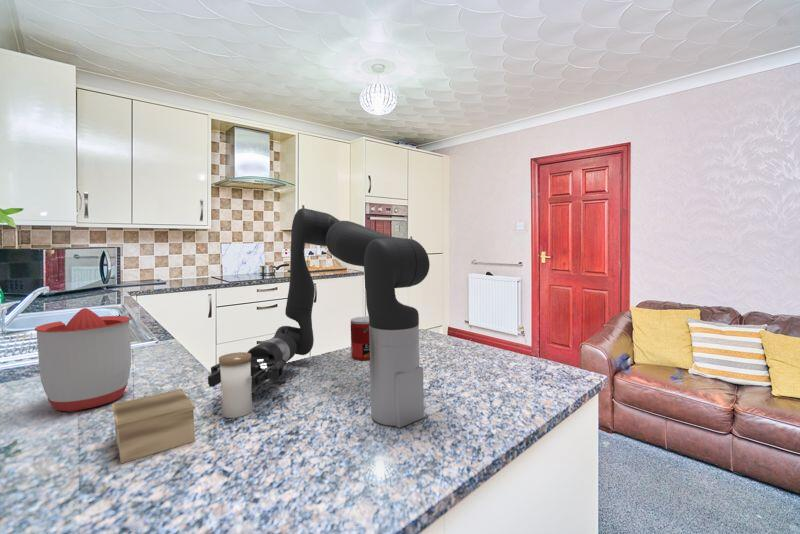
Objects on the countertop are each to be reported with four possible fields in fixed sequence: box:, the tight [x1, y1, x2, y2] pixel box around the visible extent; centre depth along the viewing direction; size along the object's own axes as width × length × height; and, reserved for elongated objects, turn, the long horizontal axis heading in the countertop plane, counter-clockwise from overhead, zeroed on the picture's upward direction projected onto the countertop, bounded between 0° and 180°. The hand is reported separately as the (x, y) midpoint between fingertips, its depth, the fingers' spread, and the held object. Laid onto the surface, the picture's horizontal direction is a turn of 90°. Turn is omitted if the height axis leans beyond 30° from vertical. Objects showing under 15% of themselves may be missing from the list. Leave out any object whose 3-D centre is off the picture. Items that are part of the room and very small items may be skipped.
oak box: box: [111, 388, 196, 464], centre depth 64 cm, size 10×10×6 cm
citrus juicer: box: [34, 307, 132, 413], centre depth 82 cm, size 16×17×20 cm
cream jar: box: [218, 351, 253, 419], centre depth 75 cm, size 6×6×11 cm
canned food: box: [350, 316, 370, 361], centre depth 111 cm, size 8×8×11 cm
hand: (231, 382), depth 73 cm, fingers open, 8 cm apart
